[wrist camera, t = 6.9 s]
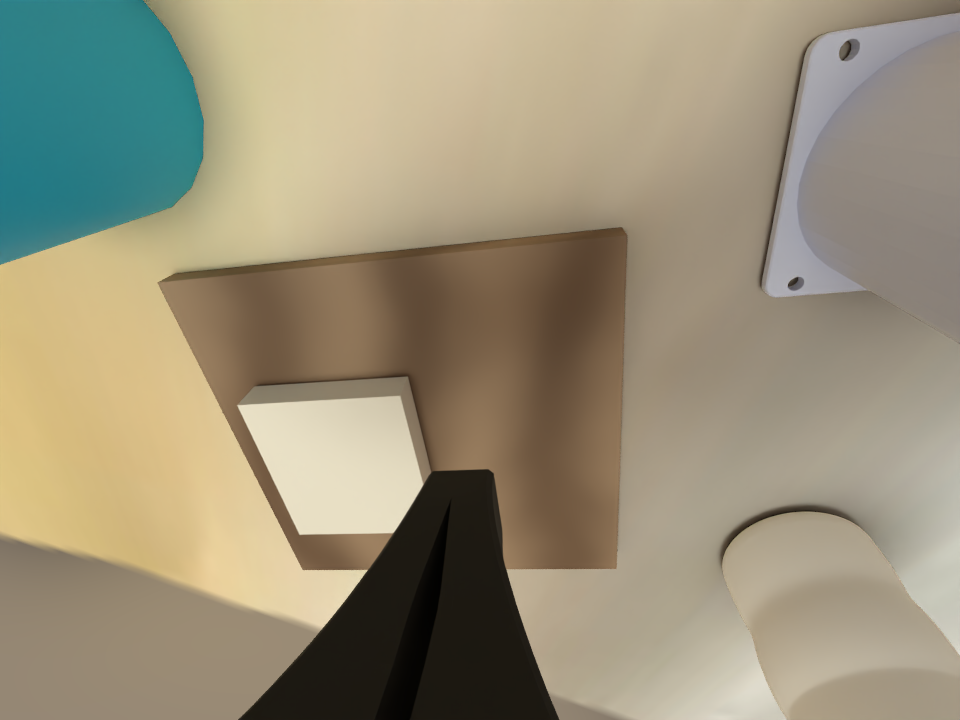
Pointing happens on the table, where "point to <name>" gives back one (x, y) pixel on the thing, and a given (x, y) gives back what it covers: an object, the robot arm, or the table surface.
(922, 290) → the robot arm
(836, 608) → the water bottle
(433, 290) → the board
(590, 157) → the table surface
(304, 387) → the tile
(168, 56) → the mug
